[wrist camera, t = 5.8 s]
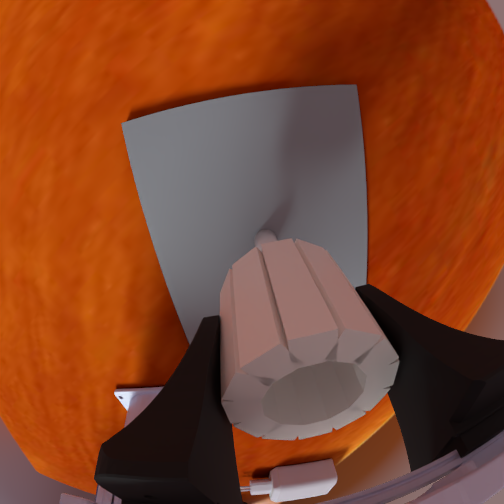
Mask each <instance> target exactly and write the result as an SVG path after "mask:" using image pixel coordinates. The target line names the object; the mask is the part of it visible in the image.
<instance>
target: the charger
mask: <svg viewBox="0 0 504 504" xmlns="http://www.w3.org/2000/svg"><path fill="white" fill-rule="evenodd" d="M336 482H337V474H336V470H335V467H334V463H333V460H332V459H326V460H321V461H315V462H309V463H303V464H296V465H289V466H280V467H276V468H274V469H273V470H271V471H270V475H269V479H258V480H250V486H240V490H241V491H250V494H251V495H260V494H269V496H270V500H271V501H274V502H282V501H289V500H296V499H302V498H308V497H314V496H319V495H324V494H327V493H328V492H329V491H330V490H331V488H332V487H333V486H334V485H335V484H336ZM243 488H250V489H243Z"/></svg>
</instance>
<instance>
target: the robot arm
mask: <svg viewBox="0 0 504 504" xmlns="http://www.w3.org/2000/svg"><path fill="white" fill-rule="evenodd" d="M355 290H356V292H357V293H358V295H359V296H360V298H361V299H362V301H363V302H364V304H365V305H366V307H367V308H368V310H369V311H370V313H371V314H372V316H373V317H374V319H375V320H376V322H377V323H378V325H379V326H380V328H381V329H382V331H383V332H384V334H385V336H386V337H387V339H388V340H389V342H390V343H391V345H392V347H393V348H394V350H395V351H396V353H397V355H398V356H399V358H398V359H399V365H398V369H397V373H396V376H395V380H394V383H393V385H392V386H390V388H391V389H390V390H389V391H388V392H387V393H388V395H389V398H390V401H391V403H392V406H393V408H394V411H395V414H396V417H397V420H398V423H399V426H400V429H401V432H402V436H403V439H404V443H405V446H406V450H407V455H408V459H409V464H410V468H411V472H410V473H408V474H406V475H403V476H401V477H398V478H396V479H394V480H391V481H388V482H386V483H383V484H381V485H378V486H375V487H372V488H369V489H366V490H364V491H360V492H357V493H354V494H351V495H347V496H344V497H340V498H337V499H333V500H329V501H325V502H321V503H317V504H385V503H388V502H390V501H393V500H395V499H398V498H400V497H403V496H405V495H407V494H410V493H412V492H414V491H416V490H418V489H420V488H422V487H425V486H427V485H429V484H431V483H432V482H435V481H437V480H439V479H440V478H442V477H443V478H442V479H440V480H439V481H437V482H436V483H434V484H433V485H432V487H431V488H430V489H429V490H428V491H426V492H425V493H424V494H422V495H421V496H420V497H418V498H417V499H415V500H412V501H410V502H408V503H405V504H483V503H484V502H485V501H487V500H488V499H490V498H491V497H492V496H494V495H495V494H496V493H498V492H499V491H500V490H501V489H502V488H504V340H496V339H491V338H486V337H481V336H477V335H473V334H469V333H466V332H463V331H460V330H457V329H454V328H451V327H448V326H446V325H444V324H441V323H439V322H436V321H434V320H432V319H430V318H428V317H426V316H424V315H422V314H420V313H418V312H416V311H414V310H412V309H411V308H409V307H407V306H405V305H404V304H402V303H400V302H399V301H397V300H395V299H394V298H392V297H390V296H389V295H387V294H385V293H384V292H382V291H381V290H379V289H377V288H376V287H374V286H372V285H370V284H366V285H362V286H358V287H355ZM114 394H115V395H116V397H117V398H118V399H119V401H120V402H121V403H122V405H123V406H124V407H125V408H126V410H127V411H128V412H127V416H126V421H125V426H124V428H123V429H122V430H121V431H119V432H118V433H117V434H115V435H114V436H113V437H111V438H110V439H109V440H107V441H106V442H104V443H103V444H102V445H101V448H100V451H99V455H98V460H97V465H96V471H95V476H94V479H95V481H96V482H97V484H98V485H99V486H98V492H97V497H96V502H94V501H91V500H89V499H85V498H82V497H77V496H74V495H70V494H66V493H62V494H61V498H60V503H59V504H243V501H242V496H241V490H240V484H239V478H238V472H237V465H236V457H235V449H234V441H233V432H232V423H230V421H229V419H228V417H227V414H226V412H225V410H224V408H223V406H222V403H221V370H220V317H219V315H215V316H209V317H204V318H203V319H202V321H201V323H200V325H199V327H198V330H197V332H196V334H195V336H194V338H193V340H192V342H191V344H190V346H189V348H188V349H187V351H186V353H185V355H184V357H183V358H182V360H181V362H180V363H179V365H178V367H177V368H176V370H175V371H174V373H173V375H172V376H171V377H170V379H169V380H168V382H167V383H166V384H165V386H164V387H152V388H133V389H116V390H115V392H114ZM446 475H447V476H446ZM444 476H445V477H444Z"/></svg>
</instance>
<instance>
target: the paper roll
mask: <svg viewBox="0 0 504 504" xmlns="http://www.w3.org/2000/svg"><path fill="white" fill-rule="evenodd" d="M261 249H262V252H261V251H260V250H259V249H258V248H257V247H254V248H253V249H252V250H250V251H249V252H248V253H247V254H245V255H244V256H243V257H242V258H240V259H239V260H238V261H236V262H235V263H234V264H233V265H232V269H229V271H228V273H227V276H226V279H225V281H224V284H223V287H222V289H221V292H220V370H221V403H222V406H223V408H224V410H225V412H226V414H227V417H228V419H229V421H230V423H233V425H234V427H236V428H238V429H241V430H243V431H245V432H247V433H249V434H251V435H253V436H255V437H260V436H262V439H277V440H294V439H295V438H296V437H297V436H298V437H299V440H300V439H304V438H309V437H313V436H317V435H321V434H325V433H329V432H332V427H333V428H335V429H336V430H338V429H339V428H341V427H343V426H345V425H347V424H349V423H351V422H353V421H354V420H356V419H358V418H360V417H361V416H363V415H365V414H366V412H365V411H370V410H371V409H372V408H373V407H374V406H375V405H376V404H377V403H378V402H379V401H380V400H381V399H382V398H383V397H384V396H385V395H386V393H387V392H388V391H389V390H390V389H391V388H390V386H392V385H393V383H394V380H395V376H396V373H397V369H398V365H399V359H398V358H399V356H398V355H397V353H396V351H395V350H394V348H393V347H392V345H391V343H390V342H389V340H388V339H387V337H386V336H385V334H384V332H383V331H382V329H381V328H380V326H379V325H378V323H377V322H376V320H375V319H374V317H373V316H372V314H371V313H370V311H369V310H368V308H367V307H366V305H365V304H364V302H363V301H362V299H361V298H360V296H359V295H358V293H357V292H356V290H355V289H354V287H353V286H352V284H351V283H350V282H349V280H348V279H347V277H346V276H345V274H344V273H343V272H342V270H341V269H340V267H339V266H338V265H337V263H336V262H335V261H334V259H333V258H332V257H331V255H330V254H329V253H328V251H327V250H326V251H325V249H324V248H323V247H320V246H317V245H314V244H311V243H308V242H305V241H302V240H299V239H296V241H295V243H294V242H293V240H292V238H290V239H285V240H279V241H274V242H269V243H264V244H261Z"/></svg>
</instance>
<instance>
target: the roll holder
mask: <svg viewBox="0 0 504 504" xmlns="http://www.w3.org/2000/svg"><path fill="white" fill-rule="evenodd" d="M121 124H122V129H123V134H124V138H125V143H126V147H127V151H128V155H129V160H130V164H131V168H132V172H133V176H134V179H135V183H136V187H137V191H138V194H139V198H140V202H141V205H142V209H143V212H144V216H145V219H146V222H147V226H148V229H149V232H150V236H151V239H152V242H153V245H154V248H155V251H156V254H157V257H158V260H159V263H160V266H161V269H162V272H163V275H164V278H165V281H166V284H167V287H168V289H169V292H170V295H171V298H172V300H173V303H174V306H175V309H176V311H177V314H178V316H179V319H180V322H181V324H182V327H183V329H184V332H185V334H186V337H187V339H188V342H189V344H191V342H192V340H193V338H194V336H195V334H196V332H197V330H198V327H199V325H200V323H201V321H202V319H203V318H204V317H209V316H215V315H219V317H220V292H221V289H222V287H223V284H224V281H225V279H226V276H227V273H228V271H229V269H232V265H233V264H234V263H235V262H236V261H238V260H239V259H240V258H242V257H243V256H244V255H245V254H247V253H248V252H249V251H250V250H252V249H253V248H254V247H257V248H258V249H259V250H260V251H261V252H262V249H261V244H264V243H269V242H274V241H279V240H285V239H290V238H292V240H293V242H294V243H295V241H296V239H299V240H302V241H305V242H308V243H311V244H314V245H317V246H320V247H323V248H324V249H325V251H326V250H327V251H328V253H329V254H330V255H331V257H332V258H333V259H334V261H335V262H336V263H337V265H338V266H339V267H340V269H341V270H342V272H343V273H344V274H345V276H346V277H347V279H348V280H349V282H350V283H351V284H352V286H353V287H354V289H355V287H358V286H362V285H366V276H367V191H366V171H365V156H364V144H363V133H362V124H361V115H360V107H359V99H358V92H357V85H324V86H308V87H296V88H285V89H276V90H268V91H260V92H253V93H246V94H240V95H234V96H228V97H223V98H217V99H212V100H207V101H202V102H198V103H193V104H189V105H185V106H180V107H176V108H172V109H168V110H165V111H161V112H157V113H153V114H150V115H146V116H143V117H140V118H136V119H133V120H130V121H127V122H124V123H121Z"/></svg>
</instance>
